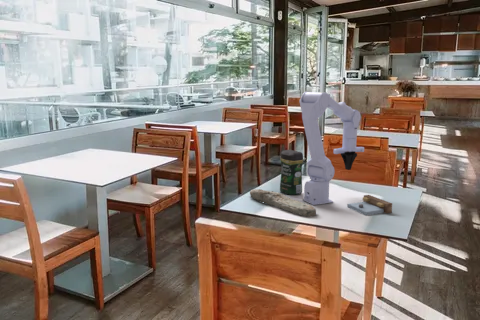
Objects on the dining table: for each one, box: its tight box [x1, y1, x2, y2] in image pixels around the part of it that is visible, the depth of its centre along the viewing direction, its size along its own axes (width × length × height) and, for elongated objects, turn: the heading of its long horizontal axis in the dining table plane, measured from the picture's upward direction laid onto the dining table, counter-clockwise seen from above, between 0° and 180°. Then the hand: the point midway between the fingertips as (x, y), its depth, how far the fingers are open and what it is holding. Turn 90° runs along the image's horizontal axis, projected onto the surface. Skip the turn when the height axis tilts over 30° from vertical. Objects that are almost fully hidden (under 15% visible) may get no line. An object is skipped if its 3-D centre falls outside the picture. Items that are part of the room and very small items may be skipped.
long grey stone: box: [249, 188, 317, 217], centre depth 169 cm, size 35×5×10 cm
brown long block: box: [362, 194, 393, 214], centre depth 165 cm, size 4×13×4 cm, turn 23°
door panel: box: [347, 201, 384, 216], centre depth 164 cm, size 8×11×3 cm
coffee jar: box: [279, 149, 304, 196], centre depth 186 cm, size 10×8×19 cm
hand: (348, 169), depth 185 cm, fingers closed
